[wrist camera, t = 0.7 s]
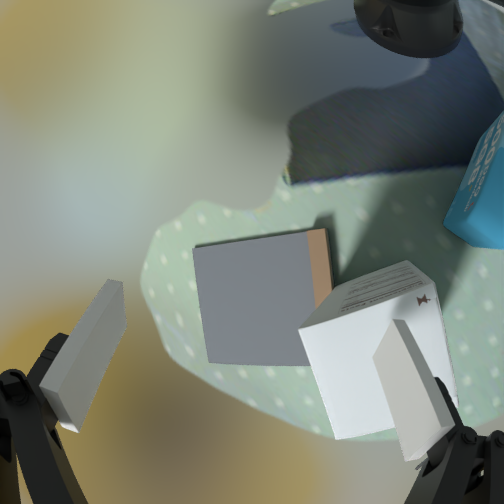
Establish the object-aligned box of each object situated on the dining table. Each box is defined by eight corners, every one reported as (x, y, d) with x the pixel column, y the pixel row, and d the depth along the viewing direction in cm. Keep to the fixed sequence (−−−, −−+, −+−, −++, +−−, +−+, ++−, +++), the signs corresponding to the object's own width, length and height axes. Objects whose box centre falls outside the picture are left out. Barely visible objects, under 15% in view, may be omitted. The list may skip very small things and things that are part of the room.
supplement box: (333, 285, 34) (291, 323, 19) (408, 257, 31) (434, 273, 15) (357, 360, 33) (333, 444, 18) (431, 336, 30) (461, 410, 14)
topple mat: (327, 228, 34) (324, 228, 32) (340, 363, 34) (337, 369, 32) (194, 248, 41) (185, 248, 40) (210, 361, 41) (203, 366, 39)
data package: (478, 138, 26) (513, 97, 15) (507, 159, 25) (552, 128, 14) (439, 226, 29) (469, 219, 18) (470, 247, 28) (511, 252, 17)
